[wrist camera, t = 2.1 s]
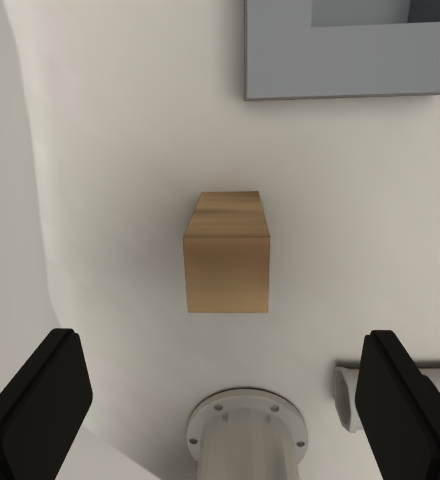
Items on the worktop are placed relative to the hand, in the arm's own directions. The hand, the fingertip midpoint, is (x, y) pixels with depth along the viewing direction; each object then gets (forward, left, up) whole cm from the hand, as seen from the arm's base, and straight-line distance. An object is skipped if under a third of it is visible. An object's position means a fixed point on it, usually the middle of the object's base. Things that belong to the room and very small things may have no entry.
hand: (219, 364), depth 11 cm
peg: (0, 0, -17) cm, 17 cm away
